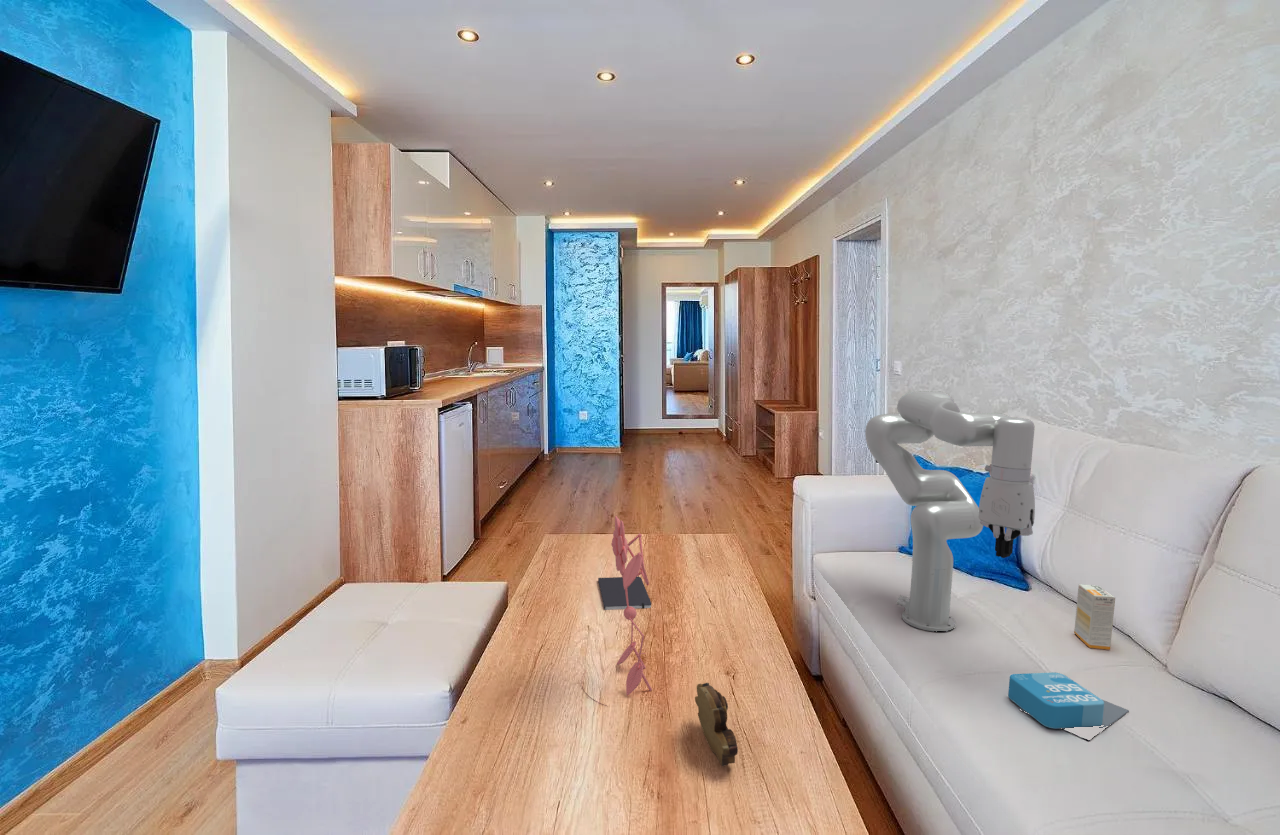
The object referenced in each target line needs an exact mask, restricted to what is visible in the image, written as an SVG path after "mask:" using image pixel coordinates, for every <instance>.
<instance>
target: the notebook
mask: <svg viewBox="0 0 1280 835" xmlns="http://www.w3.org/2000/svg"><path fill="white" fill-rule="evenodd" d="M597 579H598V580H597V581H598V586H599V590H600V597H601V599H602V600H601V601H602V604H603V609H604V611H607V610H608V611H610V610H625V608H626V607H627V602H626V594H625V589H624V586H623V578H622V576H617V577H615V576H614V577H612V576H609V577H598V578H597ZM627 592H628V603H629V607H630V606H631V607H634V608H635V610H636V609H642V610H643V609H650V608H651V607H652V601H651V599H650V596H649V594H648V592H647V589H646V586H645V583H644V582H643V578H642V577H641V576H637V577H636V579H635V580H634V581H633V582H632V583H631V584H630V586H629V587H628V588H627Z"/></svg>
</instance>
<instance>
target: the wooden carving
mask: <svg viewBox="0 0 1280 835" xmlns="http://www.w3.org/2000/svg"><path fill="white" fill-rule="evenodd" d="M696 693H697V694H696V695H697V696H695V697H694V701H695V703H696V706H697V710H698V713H697V717H698V720H699V723H700V726H701V729H702V732H703V734H704V738H705V740H706V743H707V745H708V747H709V749H710V750H711V752H712V753H714V754H715V755H716V757H717V759H718V763H719V764H720V766H722V767H724V766H728V765H729V764H734V763H735V762H736V755H738V752H739V751H738V750H739V748H738V742H737V738H736V735H735V732H734V731H733V730H732V729H730V728H728V726H727V722H728V709H729V706H728V705H729V704H728V701H727V697H725V696H724V695H722V693H721V692H720V691H718V690H716V689H715V688H714V687H713V686H712V685H711V684H710V683H709V682H706V683H705V682H703V683H698V684H696Z"/></svg>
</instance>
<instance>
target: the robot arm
mask: <svg viewBox="0 0 1280 835" xmlns="http://www.w3.org/2000/svg"><path fill="white" fill-rule="evenodd" d="M896 405H897V406H896V409H897V412H898V413H883V414H878V415H875V416H873V417H871V418H870V419H869V420H868V422H867V423H866V426H865V430H864V432H865V440H866V444H867V448H868V450H869V452H870V453H871V456H873V458H874V459H875V460H876V462H877V463H878V464H879V466H881V468H882V469H883V470H884V472H885V473H886V475H887V477H888V478H889V481H890V482H891V483H892V485H893V486H894V489H895V490H896V492H897V493H898V495H899V496H900V498H901V499H902V501H903V502H904V503H905V504H907V505H909V506H913V509H912V511H911V513H910V514H911V515H910V525H911V534H912V560H911V562H912V563H911V573H910V574H911V576H910V578H911V579H910V588H909V589H910V591H909V597H907V596H905V595H902V594H900V595H898V598H897V601H896V604H897V605H899V606H901V607H904V610H903V611H902V615H901V618H902V620H903V621H904V622H905V623H907V624H908V625H910V626H911V627H913V628H917V629H919V630H924V631H926V632H927V631H928V632H934V631H936V633H938V632H937V631H946V632H949V631H948V630H951V629H953V628H954V627H955V628H956V620H955V619H954V618H953V617H952V616H951V615H950V613H951V612H950V610H951V609H950V608H951V595H952V585H953V584H952V582H953V573H954V572H953V570H954V556H953V553H952V550H951V549H950V547H949V545H948V542H947V541H948V540H955V539H956V540H957V539H969V538H973V537H976V536H978V535H979V534H980V533H981V532H982V531H983V528H984V527H986V528H988V529H989V530H990V531H991V533H992V535H993V538H995V544H994V551H995V557H998V558H1000V557H1001V558H1003V559H1006V558H1008V557H1010V556H1011V555H1012V554H1013V549H1014V548H1013V547H1014V540H1015V539H1017V538H1018V537H1020V536H1021V537H1022V536H1025V537H1026V536H1031V535H1032V536H1033V534H1034V533H1033V526H1034V523H1035V517H1036V516H1035V515H1036V514H1035V513H1036V500H1035V491H1034V490H1035V489H1034V483H1032V482H1031V472H1032V459H1033V451H1034V450H1033V448H1034V439H1035V437H1034V436H1035V423H1034V422H1033V420H1031V419H1028V418H1024V417H1013V416H1010V415H1007V414H1003V413H998V412H997V413H996V412H994V413H993V412H991V413H989V412H967V413H964V412H960V407H959V406H958V404H957V403H956V402H955V400H954V398H953V397H952V396H951V395H950V394H948V393H947V392H944V391H921V390H920V391H918V390H917V391H911V392H907V393H905V394H904V395H902V396H901V397H900V399H898V401H897V404H896ZM933 436H934V437H935V438H937V440H940V441H943V442H946V443H948V444H950V445H951V444H952V445H954V446H957V447H958V446H959V447H992V450H991V462H990V464H989V465H986V466H985V467H984V470H985V472H987V473H989V476H987V477H986V478H985V480H984V483H983V486H982V490H981V494H980V498H979V504H977V503H976V501H975V500H974V498H973V497H972V496H971V494H970V493H969V492H968V489H966V487H965V486H964V485H963V483H962V481H960V479H959V478H958V477H957V476H956V475H955V474H954V473H952V472H950V471H948V470H943V469H925V468H923V467H922V466H921V465H920V464H919V463H918V461H917V459H916V458H915V456H914V455H913V454H912V453H911V452H909V450H907V449H905V448H903V447H902V446H900V445H902V444H921V443H924V442H927V441H928V440H929V439H931V438H932V437H933ZM955 628H954V629H955ZM954 629H953V630H954ZM951 631H952V630H951Z"/></svg>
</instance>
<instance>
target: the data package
mask: <svg viewBox="0 0 1280 835" xmlns="http://www.w3.org/2000/svg"><path fill="white" fill-rule="evenodd" d="M1007 696H1008V698H1009V699H1010V700H1011V701H1012V702H1013V703H1015V704H1016V705H1017V706H1018V707H1020V708H1022V709H1023V710H1025V711H1026V712H1027V713H1029V714H1030V715H1029V714H1028V715H1029V716H1030V717H1032V718H1034V719H1035V720H1036V721H1038V723H1040V724H1041V725H1042V726H1044V727H1046V728H1049V729H1060V728H1074V727H1093V726H1101V725H1102V721H1103V711H1104V701H1103V700H1104V699H1101V698H1100V697H1099V696H1097V695H1095V694H1094V693H1092V692H1091V691H1090V690H1088V689H1087V688H1085V687H1083V686H1082V685H1080V684H1079V683H1077V682H1076V681H1074V680H1073V679H1071V678H1070V677H1068V676H1067V675H1065V674H1063V673H1060V672H1029V673H1028V672H1027V673H1013V674H1009V682H1008V693H1007ZM1027 713H1026V714H1027Z"/></svg>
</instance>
